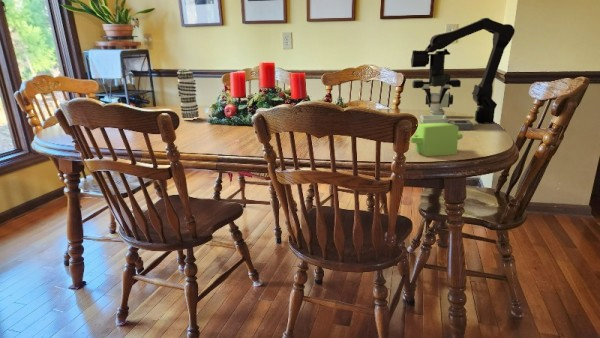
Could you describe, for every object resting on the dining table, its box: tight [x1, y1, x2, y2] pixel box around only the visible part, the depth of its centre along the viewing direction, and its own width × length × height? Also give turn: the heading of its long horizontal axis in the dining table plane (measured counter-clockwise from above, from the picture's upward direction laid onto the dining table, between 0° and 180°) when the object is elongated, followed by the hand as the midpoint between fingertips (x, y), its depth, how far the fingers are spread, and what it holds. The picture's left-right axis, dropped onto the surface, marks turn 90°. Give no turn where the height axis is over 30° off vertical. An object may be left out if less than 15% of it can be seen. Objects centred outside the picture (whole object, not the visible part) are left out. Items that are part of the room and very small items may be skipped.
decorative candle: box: [176, 68, 200, 119], centre depth 207 cm, size 9×9×25 cm
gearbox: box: [409, 122, 464, 157], centre depth 134 cm, size 18×10×10 cm, turn 97°
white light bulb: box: [429, 93, 440, 114], centre depth 174 cm, size 4×4×8 cm
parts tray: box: [419, 114, 449, 124], centre depth 176 cm, size 10×9×3 cm
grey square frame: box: [448, 119, 474, 131], centre depth 165 cm, size 8×8×2 cm
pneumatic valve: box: [424, 90, 454, 115], centre depth 187 cm, size 6×12×12 cm, turn 75°
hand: (434, 104), depth 174 cm, fingers closed on white light bulb, 4 cm apart
